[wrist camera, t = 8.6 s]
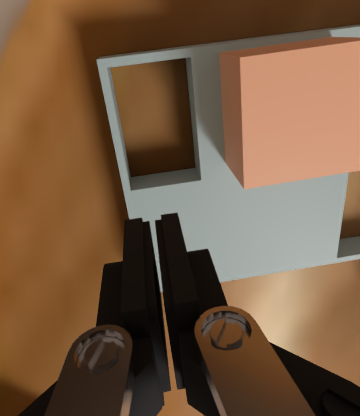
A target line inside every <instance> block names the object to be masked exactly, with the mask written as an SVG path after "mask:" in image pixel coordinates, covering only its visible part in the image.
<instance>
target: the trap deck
mask: <svg viewBox="0 0 360 416" xmlns="http://www.w3.org/2000/svg"><path fill="white" fill-rule="evenodd" d="M326 37H360V24H358V25H350V26H342V27H334V28H326V29H318V30H310V31H302V32H294V33H286V34H278V35H270V36H262V37H254V38H246V39H238V40H230V41H222V42H214V43H206V44H198V45H190V46H182V47H174V48H166V49H158V50H150V51H142V52H134V53H126V54H118V55H110V56H102V57H99V58H98V59H96V60H97V65H98V70H99V75H100V80H101V85H102V89H103V94H104V99H105V104H106V109H107V114H108V118H109V123H110V128H111V133H112V138H113V143H114V148H115V152H116V157H117V162H118V167H119V172H120V177H121V182H122V186H123V191H124V196H125V201H126V206H127V211H128V216H129V219H135V218H142V219H143V222H146V221H149V222H150V228H151V234H152V240H153V247H154V253H155V259H156V266H157V272H158V278H159V284H160V291H161V292H163V290H162V281H161V272H160V263H159V254H158V245H157V236H156V227H155V220H160V219H161V215H163V214H170V213H178V216H179V220H180V225H181V229H182V233H183V237H184V241H185V245H186V249H187V252H188V251H195V250H201V249H208V250H209V252H210V255H211V258H212V261H213V264H214V267H215V270H216V273H217V276H218V278H219V281H220V282H225V281H231V280H237V279H243V278H249V277H255V276H261V275H266V274H272V273H278V272H284V271H290V270H296V269H302V268H308V267H314V266H320V265H326V264H332V263H338V262H344V261H350V260H356V259H360V236H356V237H350V238H344V239H339V238H340V231H341V224H342V217H343V210H344V203H345V195H346V188H347V181H348V174H349V172H348V173H342V174H335V175H329V176H323V177H317V178H311V179H305V180H298V181H292V182H286V183H280V184H274V185H267V186H261V187H255V188H249V189H243V187H242V186H241V184H240V183H239V181H238V180H237V179H236V177H235V176H234V174H233V173H232V171H231V170H230V169H229V167H228V166H227V164H226V163H225V149H224V132H223V114H222V97H221V79H220V62H219V52H226V51H233V50H240V49H248V48H255V47H262V46H269V45H276V44H283V43H291V42H298V41H305V40H312V39H319V38H326ZM180 58H186V68H187V79H188V90H189V101H190V112H191V123H192V134H193V145H194V156H195V167H196V168H190V169H183V170H177V171H170V172H163V173H156V174H149V175H143V176H136V177H131V175H130V169H129V164H128V159H127V154H126V148H125V143H124V138H123V133H122V127H121V122H120V117H119V112H118V106H117V101H116V96H115V91H114V85H113V80H112V75H111V70H110V67H117V66H125V65H132V64H140V63H148V62H156V61H164V60H172V59H180Z"/></svg>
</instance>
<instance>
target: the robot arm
mask: <svg viewBox="0 0 360 416" xmlns="http://www.w3.org/2000/svg"><path fill="white" fill-rule="evenodd" d="M155 227H156V236H157V245H158V254H159V263H160V272H161V281H162V290H163V298H164V306H165V313H166V320H167V326H168V333H169V339H170V346H171V352H172V358H173V365H174V371H175V378H176V384H177V390H178V389H184V388H186V395H187V401H188V404H189V405H191V406H192V407H193V408H195V409H196V410H198V411H199V412H201V413H202V414H203V416H360V387H359V386H357V385H355V384H354V383H352V382H350V381H348V380H346V379H344V378H342V377H340V376H338V375H336V374H334V373H332V372H330V371H328V370H326V369H324V368H322V367H320V366H317V365H315V364H313V363H311V362H309V361H307V360H305V359H303V358H301V357H299V356H297V355H295V354H293V353H291V352H289V351H287V350H285V349H283V348H281V347H279V346H276V345H274V344H272V343H270V342H269V341H268V340H267V338H266V337H265V335H264V333H263V332H262V330H261V329H260V327H259V326H258V324H257V322H256V321H255V320H254V318H253V317H252V316H251V315H250V314H249V313H247V312H245V311H244V310H242V309H239V308H236V307H233V306H228V305H227V302H226V299H225V296H224V293H223V290H222V287H221V284H220V281H219V278H218V276H217V273H216V270H215V267H214V264H213V261H212V258H211V255H210V252H209V250H208V249H201V250H195V251H188V252H187V249H186V245H185V241H184V237H183V233H182V229H181V225H180V220H179V216H178V213H170V214H163V215H161V219H160V220H155ZM167 391H171V386H170V376H169V367H168V357H167V348H166V338H165V329H164V319H163V309H162V300H161V291H160V284H159V278H158V272H157V266H156V259H155V253H154V247H153V240H152V234H151V228H150V222H149V221H146V222H143V219H142V218H135V219H128V220H125V226H124V248H123V261H121V262H114V263H108V264H105V265H104V268H103V275H102V283H101V291H100V299H99V307H98V315H97V323H96V327H94V328H92V329H89V330H87V331H86V332H84V333H83V334H81V335H80V336H79V337H78V338H77V339H76V340H75V341H74V342H73V344H72V346H71V347H70V349H69V351H68V354H67V356H66V359H65V362H64V364H63V367H62V370H61V372H60V375H59V378H58V380H57V381H56V382H55V383H54V384H53V385H52V386H51V387H49V388H48V389H47V390H46V391H45V392H44V393H43V394H42V395H41V396H39V397H38V398H37V399H36V400H35V401H34V402H33V403H32V404H30V405H29V406H28V407H27V408H26V409H25V410H24V411H23V412H22V413H20V414H19V415H18V416H156V415H157V414H158V413H159V412H160V410H161V409H162V406H164V394H163V392H167Z"/></svg>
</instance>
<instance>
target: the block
mask: <svg viewBox="0 0 360 416" xmlns="http://www.w3.org/2000/svg"><path fill="white" fill-rule="evenodd" d="M219 62H220V79H221V97H222V114H223V132H224V149H225V163H226V164H227V166H228V167H229V169H230V170H231V171H232V173H233V174H234V176H235V177H236V179H237V180H238V181H239V183H240V184H241V186H242V187H243V189H249V188H255V187H261V186H267V185H274V184H280V183H286V182H292V181H298V180H305V179H311V178H317V177H323V176H329V175H335V174H342V173H348V172H354V171H360V37H326V38H319V39H312V40H305V41H298V42H291V43H283V44H276V45H269V46H262V47H255V48H248V49H240V50H233V51H226V52H219Z"/></svg>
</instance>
